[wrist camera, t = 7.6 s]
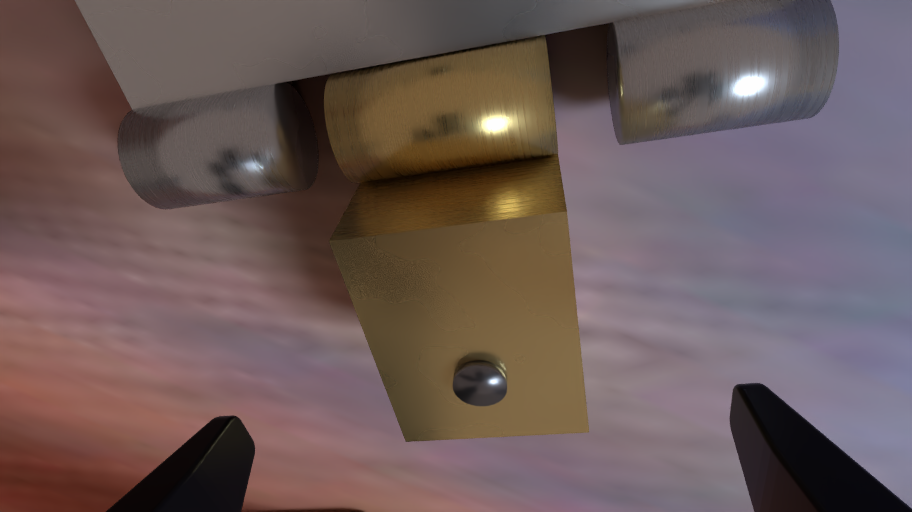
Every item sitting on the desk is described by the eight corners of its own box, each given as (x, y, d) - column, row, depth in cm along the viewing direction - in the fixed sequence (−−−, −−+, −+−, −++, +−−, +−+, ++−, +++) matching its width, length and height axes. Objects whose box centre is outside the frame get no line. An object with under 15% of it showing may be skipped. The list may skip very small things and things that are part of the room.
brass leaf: (427, 333, 17) (404, 450, 13) (345, 60, 12) (277, 127, 9) (574, 320, 16) (590, 441, 13) (543, 22, 12) (553, 80, 8)
